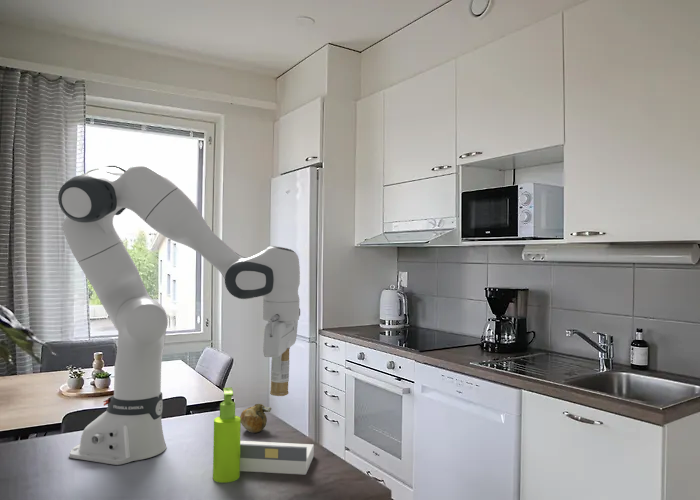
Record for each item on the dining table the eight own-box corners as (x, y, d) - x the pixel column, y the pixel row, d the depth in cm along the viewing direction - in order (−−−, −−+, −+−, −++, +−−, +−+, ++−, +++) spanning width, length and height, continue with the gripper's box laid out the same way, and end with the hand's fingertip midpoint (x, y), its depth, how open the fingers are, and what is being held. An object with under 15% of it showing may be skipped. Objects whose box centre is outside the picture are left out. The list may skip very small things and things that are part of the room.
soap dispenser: (213, 486, 114) (215, 393, 114) (212, 473, 120) (214, 385, 121) (241, 483, 115) (242, 391, 116) (238, 470, 122) (240, 384, 122)
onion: (257, 424, 155) (257, 397, 155) (272, 431, 149) (273, 403, 150) (234, 430, 150) (235, 402, 150) (250, 437, 144) (250, 408, 144)
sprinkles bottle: (283, 391, 132) (286, 337, 132) (291, 395, 128) (293, 340, 128) (266, 393, 129) (268, 338, 130) (273, 397, 125) (276, 340, 126)
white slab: (220, 470, 122) (220, 444, 122) (235, 452, 133) (236, 428, 133) (305, 475, 120) (305, 448, 120) (313, 456, 131) (314, 432, 131)
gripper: (284, 317, 118) (283, 379, 118) (301, 308, 139) (300, 361, 139) (257, 317, 119) (255, 378, 119) (278, 308, 139) (277, 360, 139)
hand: (280, 369), depth 129 cm, fingers closed on sprinkles bottle, 4 cm apart
